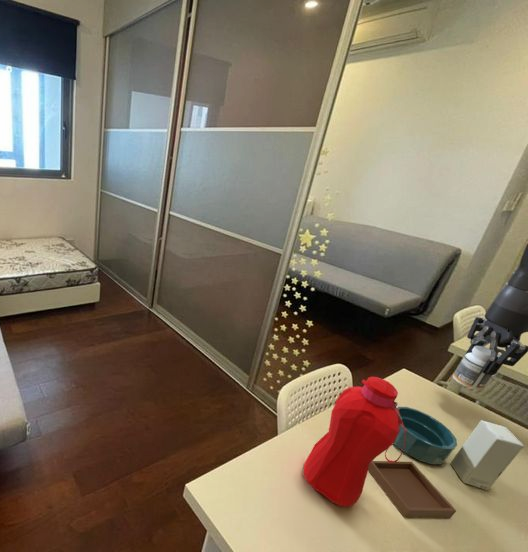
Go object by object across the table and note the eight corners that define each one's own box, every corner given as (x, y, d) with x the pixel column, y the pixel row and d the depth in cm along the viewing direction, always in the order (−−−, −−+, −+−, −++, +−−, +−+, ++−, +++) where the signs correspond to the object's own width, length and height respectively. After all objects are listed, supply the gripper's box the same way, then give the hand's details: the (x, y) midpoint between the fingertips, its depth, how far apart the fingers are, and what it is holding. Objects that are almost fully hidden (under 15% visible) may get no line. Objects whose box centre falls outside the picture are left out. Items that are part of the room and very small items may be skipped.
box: (488, 491, 64) (527, 448, 59) (462, 483, 66) (498, 439, 60) (472, 468, 69) (507, 426, 64) (447, 461, 70) (480, 418, 65)
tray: (406, 468, 67) (411, 461, 67) (450, 517, 59) (456, 510, 58) (365, 467, 66) (369, 460, 66) (403, 517, 58) (409, 510, 57)
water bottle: (361, 526, 56) (432, 424, 45) (296, 479, 62) (345, 381, 52) (370, 490, 62) (434, 393, 52) (310, 451, 69) (357, 358, 58)
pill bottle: (472, 378, 83) (493, 347, 79) (488, 393, 78) (511, 361, 74) (446, 373, 85) (465, 342, 81) (460, 387, 80) (482, 355, 76)
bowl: (427, 432, 77) (439, 415, 75) (455, 474, 67) (469, 456, 65) (375, 417, 80) (385, 400, 78) (394, 455, 70) (406, 437, 68)
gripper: (567, 326, 65) (519, 389, 72) (514, 297, 78) (477, 353, 85) (521, 317, 67) (478, 379, 74) (476, 290, 80) (443, 345, 87)
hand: (478, 365), depth 79 cm, fingers closed on pill bottle, 5 cm apart
